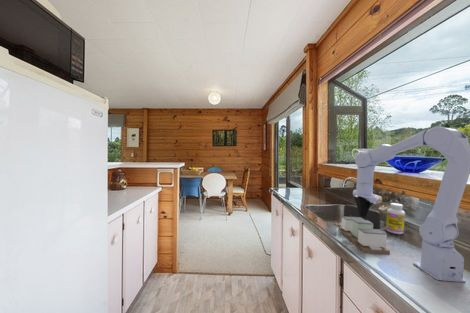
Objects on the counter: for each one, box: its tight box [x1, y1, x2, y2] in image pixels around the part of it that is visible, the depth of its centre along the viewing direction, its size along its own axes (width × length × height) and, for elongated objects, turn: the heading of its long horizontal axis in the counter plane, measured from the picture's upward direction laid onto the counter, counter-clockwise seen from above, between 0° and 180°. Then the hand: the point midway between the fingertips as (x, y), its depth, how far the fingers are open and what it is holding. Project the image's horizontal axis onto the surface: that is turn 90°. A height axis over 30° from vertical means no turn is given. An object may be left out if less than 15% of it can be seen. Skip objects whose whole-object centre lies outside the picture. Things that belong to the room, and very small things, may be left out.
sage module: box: [352, 219, 373, 238], centre depth 90 cm, size 4×6×6 cm, turn 86°
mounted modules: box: [341, 215, 388, 248], centre depth 90 cm, size 19×8×5 cm, turn 177°
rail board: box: [338, 226, 391, 255], centre depth 90 cm, size 22×9×2 cm, turn 177°
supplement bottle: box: [385, 202, 406, 235], centre depth 102 cm, size 7×7×13 cm
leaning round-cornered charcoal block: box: [343, 204, 382, 230], centre depth 107 cm, size 16×5×9 cm, turn 39°
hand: (362, 216), depth 90 cm, fingers closed
